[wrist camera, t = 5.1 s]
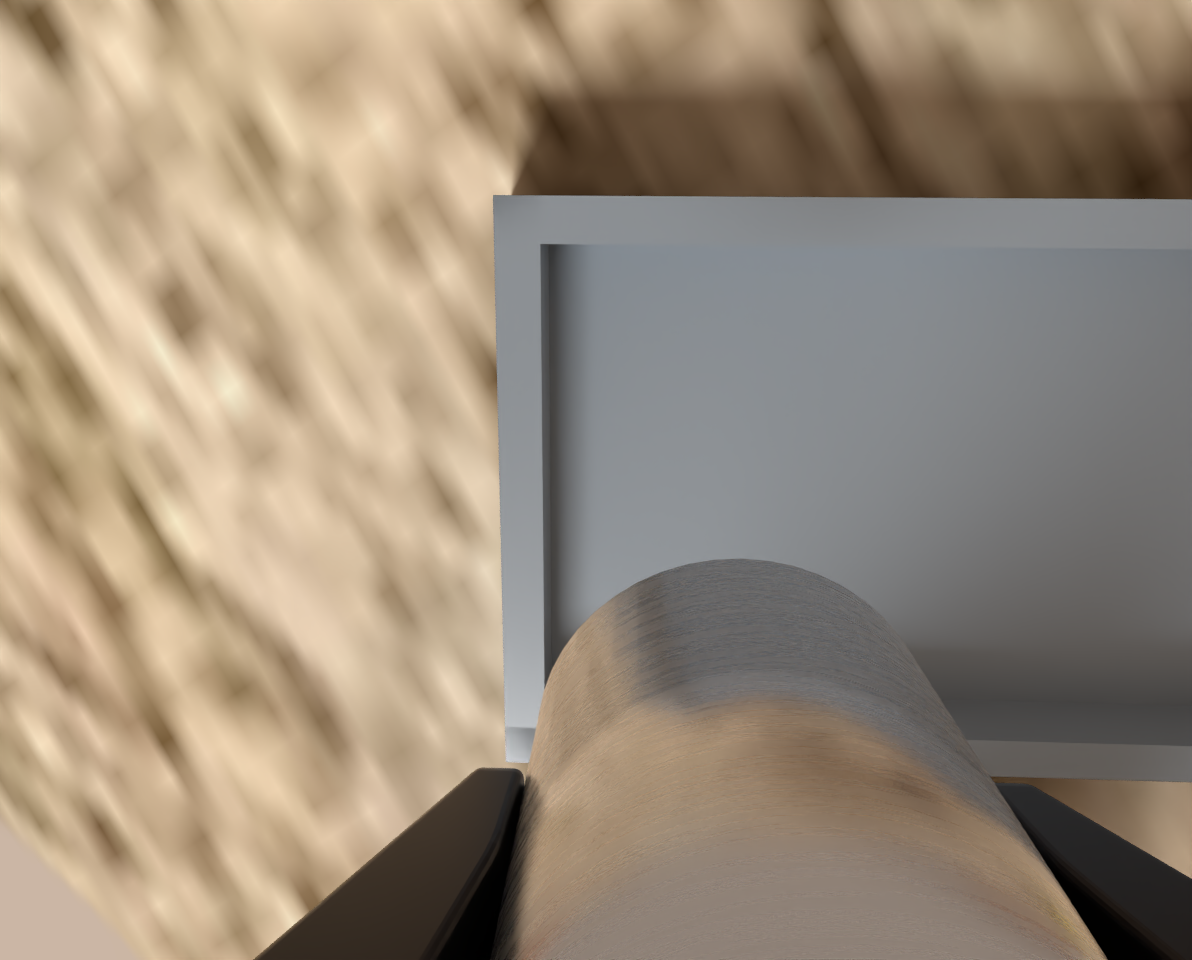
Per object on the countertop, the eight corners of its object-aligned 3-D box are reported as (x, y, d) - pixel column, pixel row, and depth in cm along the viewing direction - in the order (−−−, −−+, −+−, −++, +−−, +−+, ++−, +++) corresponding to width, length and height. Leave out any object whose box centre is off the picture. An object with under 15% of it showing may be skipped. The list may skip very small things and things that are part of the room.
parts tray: (1338, 729, 20) (1422, 789, 18) (519, 706, 21) (506, 762, 19) (1472, 203, 17) (1590, 201, 15) (510, 197, 18) (492, 195, 16)
